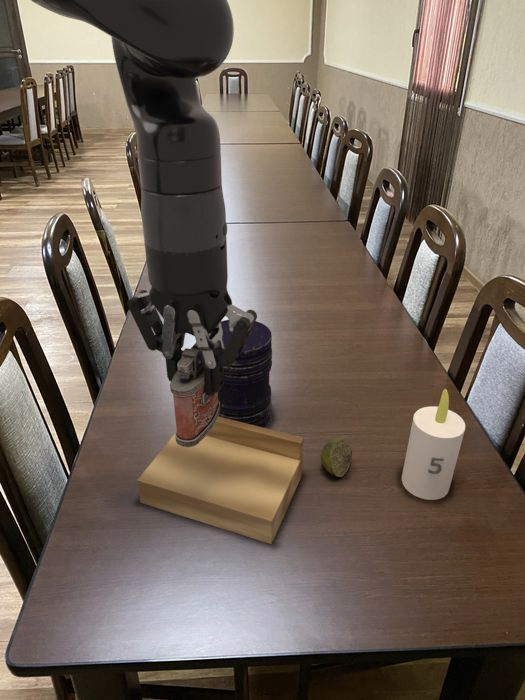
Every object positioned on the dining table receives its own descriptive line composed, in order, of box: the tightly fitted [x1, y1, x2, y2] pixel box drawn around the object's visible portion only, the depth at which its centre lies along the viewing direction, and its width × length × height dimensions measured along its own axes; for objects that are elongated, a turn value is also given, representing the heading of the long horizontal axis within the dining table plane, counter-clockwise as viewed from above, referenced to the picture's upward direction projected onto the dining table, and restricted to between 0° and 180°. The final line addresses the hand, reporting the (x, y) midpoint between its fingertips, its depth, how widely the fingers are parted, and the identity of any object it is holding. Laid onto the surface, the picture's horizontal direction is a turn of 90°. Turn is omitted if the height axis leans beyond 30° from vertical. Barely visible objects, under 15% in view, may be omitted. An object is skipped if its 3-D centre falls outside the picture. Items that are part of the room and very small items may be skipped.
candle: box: [401, 388, 466, 501], centre depth 69 cm, size 6×6×15 cm
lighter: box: [169, 342, 220, 447], centre depth 58 cm, size 8×3×10 cm, turn 161°
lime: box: [319, 437, 353, 478], centre depth 73 cm, size 4×5×5 cm
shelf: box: [137, 416, 305, 545], centre depth 70 cm, size 12×18×7 cm, turn 69°
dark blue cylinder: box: [218, 319, 273, 428], centre depth 81 cm, size 10×10×15 cm
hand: (196, 387), depth 58 cm, fingers closed on lighter, 3 cm apart
